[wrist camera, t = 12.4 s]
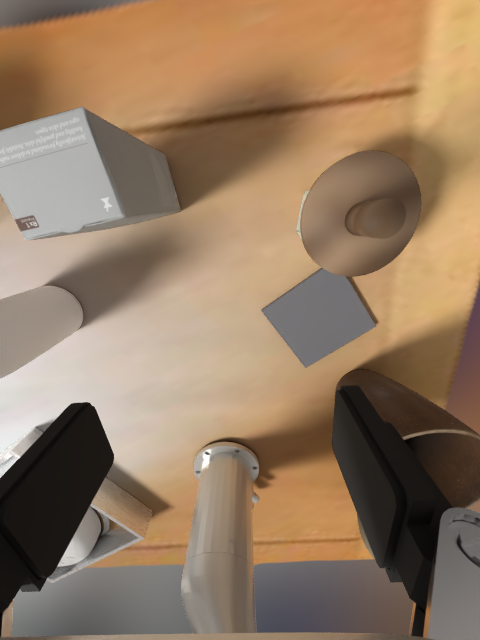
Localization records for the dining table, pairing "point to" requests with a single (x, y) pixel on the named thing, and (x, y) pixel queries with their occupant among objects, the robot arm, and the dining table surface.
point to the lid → (360, 213)
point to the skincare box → (81, 176)
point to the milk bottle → (35, 324)
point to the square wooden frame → (107, 502)
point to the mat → (319, 316)
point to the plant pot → (427, 435)
